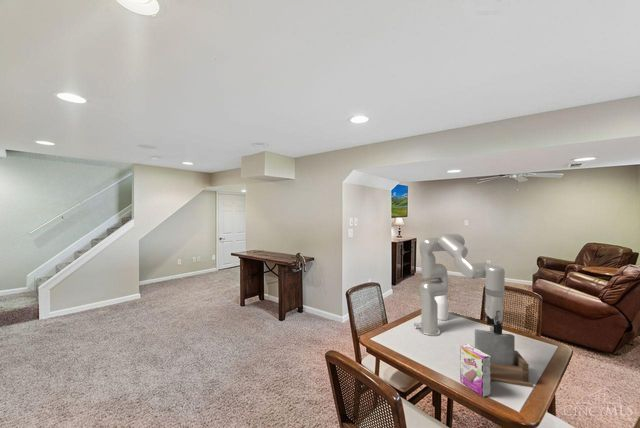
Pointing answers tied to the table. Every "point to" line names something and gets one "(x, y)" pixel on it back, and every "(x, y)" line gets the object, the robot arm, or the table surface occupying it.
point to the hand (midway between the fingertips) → (494, 328)
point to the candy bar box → (475, 370)
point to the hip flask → (496, 346)
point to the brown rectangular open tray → (512, 372)
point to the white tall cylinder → (442, 307)
